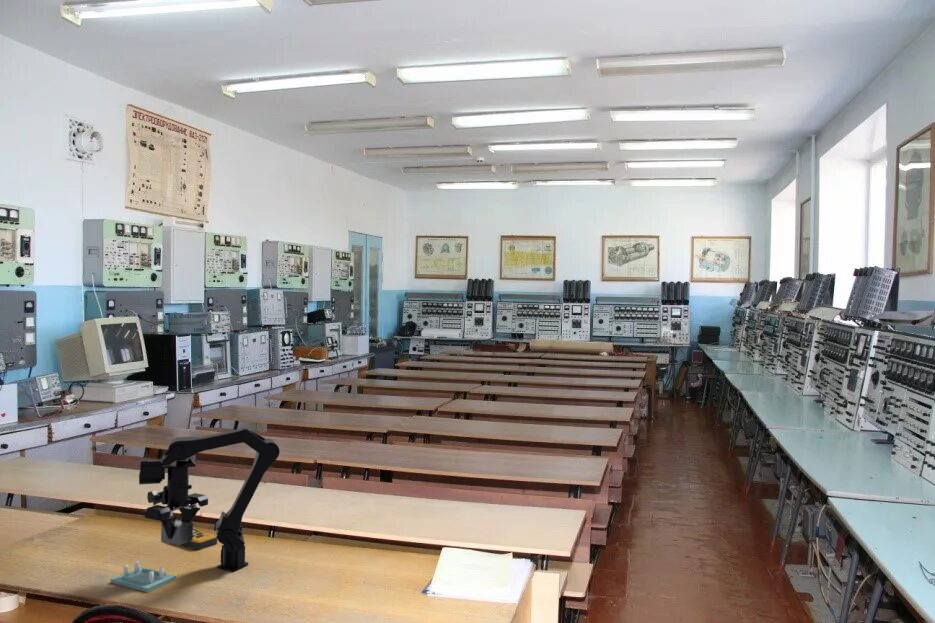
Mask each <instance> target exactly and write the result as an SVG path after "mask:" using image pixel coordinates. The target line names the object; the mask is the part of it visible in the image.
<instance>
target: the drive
mask: <svg viewBox="0 0 935 623" xmlns="http://www.w3.org/2000/svg"><path fill="white" fill-rule="evenodd" d="M160 526H161V531H160V542H163V543H168V544H173V545H176V546H182V545H181V544H184V543H186V542H189V541H191V540H193V529H194V523H193V522H186V521H182V519H181V520H180V519H176V522H175V526H174V531H173V535H172V538H171V539H168V537H167V535H166V532H165V529H164V527H163V524H162V523H161V525H160Z"/></svg>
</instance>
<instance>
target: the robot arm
mask: <svg viewBox="0 0 935 623" xmlns="http://www.w3.org/2000/svg"><path fill="white" fill-rule="evenodd" d="M242 443H244V444H245V445H247V446H248V448H250V449H253V451H255V455H254V456H255V457H254V460H253V465H252V467H251V468H250V471H249V473H248V475H247V477H246V479H245V480H244V482H243V485H242V487H241V488H240V490H239V492H238V494H237V496H236V498H235V500H234V502H233V503H232V506H231V507H230V508H229V510H227V512H224V511H221V513H220V517H219V519H218V520H217V521H216V522H215V532H216V536H217V542H219V543H220V544H221V549H220V564H219V565H217V566H216V568H217V569H222V570H227V571H231V572H235V571H238V570H240V569H242V568H244V567H246V566H248V565H249V562H247V561H246V545H245V538H244V533H243V532H242V531H241V530H240V529H241V523H242V520H243V516H244V514H245V512H246V510H247V508H248V506H249V504H250V502H251V500H252V499H253V497H254V495H255V492H256V490H257V489H258V487H259V485H260V483H261V481H262V479H263V478H264V477H263V476H264V475H265V473H266V472H267V471H268V470H269V469H270V468H271V467H272V466H273V465H274V463H275V462H276V460H277V459H278V458H279V456H280V454H281V452H280V447H279V445H278V443H277V442H276V441H275V440H274V439H272V438H265V437H264V436H262V435H260V434H259V433H256V432H254V431H253V430H251V428H249V427H247V426H243V427H241V428H237V429H233V430H228V431H222V432H218V433H213V434H209V435H203V436H180V437H179V436H177V437H175V438H173V439H171V441H170V442H169V443H168V445H167V446H168V447H167V451H166V452H165V453H164V454H163V455H162V457H161V459H153V460H152V459H141V461H140V466H139V467H140V468H139V469H140V470H139V473H138V484H139V485H151V484H152V485H157V484H161V483H162V482H163V480H165V479H167V481H166V482H167V484H166V485H164V486H163V488H162V490H161V491H159V492H158V491H157V490H156V489H155V490H151V491H148V492H147V496H146V498H147V502H148V503H149V504H151V503H152V506H149V507H146V509H145V510H144V519H148V520H154V521H160V522H161V524H163V527H164V529H165V532H166V535H167V537H168V539H171V538H172V535H173V531H174V526H175V522H176V520H177V515H174V512H176V511H177V510H179V512H180V514H181V521H186V522H191V523H193V520H194V518H196V517H195V516H196V515H197V514H198V512H199V511H201V508H202V507H204V506H207V505H209V497H208V496H207V495H206V494H202V493H196V492H194V493H191V494H190V493H189V490H192V487H193V486H192V484H189V483H190V482H189V479H190V475H189V474H190V468H194V467H196V464H197V463H196V461H195V460H193V458H192V457H193V456H196V455H198V454H200V453H202V452H206V451H209V450H215V449H219V448H224V447H228V446H233V445H236V444H237V445H238V444H242ZM166 469H167V478H166ZM160 503H161V505H160ZM197 504H198V506H199V507H198V506H197ZM165 505H166V506H165Z"/></svg>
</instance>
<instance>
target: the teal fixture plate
mask: <svg viewBox="0 0 935 623" xmlns="http://www.w3.org/2000/svg"><path fill="white" fill-rule="evenodd" d="M133 566H134V567H133V568H134V569H132V570H129V568H130V567H129V565H128V564H124V565H123V573H122V574H119V575H117V576H115V577H113V578H110V583H111V584H115V585H118V586H122V587H126V588H130V589H133V590H137V591H142V592H144V593H145V592H146V593H149V592H151V591H153V590H156V589H158V588H160V587H163V586H165V585H167V584H169V583H172V582H174V581H177V575H174V574H170V573H167V572H165V567H164V566H160V567H159V570H157V569H152V568H148V567H145V566H144V567H141V566H140V561H139V560H136V561H134V565H133Z"/></svg>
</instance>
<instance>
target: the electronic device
mask: <svg viewBox="0 0 935 623" xmlns="http://www.w3.org/2000/svg"><path fill="white" fill-rule="evenodd" d="M217 544H218V539H217V535H214V534H210V533H207V532H204V531H201V530H197V529H194V528H193V540H191V541H189V542H186V543H184V544H181V545H180V546H183V547H185V546H186V548H188V547H189V548H188V549H192V548H193V549H192V550H195V549H196V550H195V551H199V550H200V549H201V550H204V549H206V548H209V547H213V546H216V545H217ZM203 548H204V549H203Z"/></svg>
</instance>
